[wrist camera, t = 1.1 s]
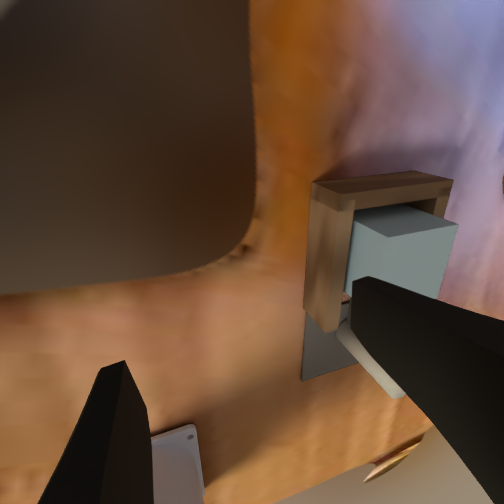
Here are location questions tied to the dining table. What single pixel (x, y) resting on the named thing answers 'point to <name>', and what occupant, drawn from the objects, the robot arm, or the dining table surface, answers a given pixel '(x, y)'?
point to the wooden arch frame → (340, 223)
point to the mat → (324, 349)
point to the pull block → (394, 264)
